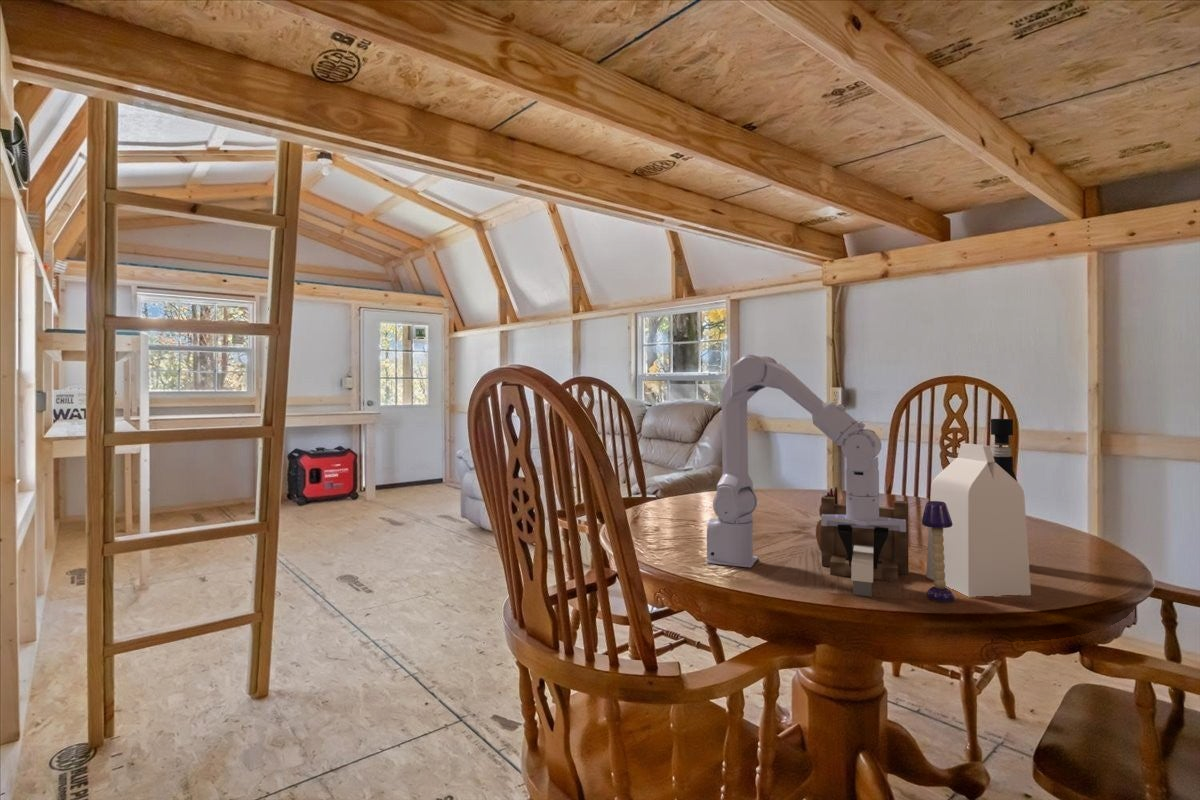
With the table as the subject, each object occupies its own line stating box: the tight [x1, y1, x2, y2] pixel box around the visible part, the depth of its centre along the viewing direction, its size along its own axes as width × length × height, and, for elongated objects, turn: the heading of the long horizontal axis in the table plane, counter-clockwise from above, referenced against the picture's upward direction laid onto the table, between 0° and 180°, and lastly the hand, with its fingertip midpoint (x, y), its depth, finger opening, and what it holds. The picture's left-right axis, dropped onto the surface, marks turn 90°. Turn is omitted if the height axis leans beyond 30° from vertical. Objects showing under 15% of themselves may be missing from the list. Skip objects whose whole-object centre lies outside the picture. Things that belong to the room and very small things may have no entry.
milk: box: [925, 442, 1032, 598], centre depth 112 cm, size 12×12×26 cm
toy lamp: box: [921, 501, 955, 603], centre depth 105 cm, size 5×5×17 cm
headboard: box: [820, 496, 909, 582], centre depth 120 cm, size 16×8×14 cm, turn 65°
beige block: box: [850, 544, 874, 598], centre depth 113 cm, size 5×15×6 cm, turn 155°
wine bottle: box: [990, 418, 1018, 482], centre depth 125 cm, size 6×6×30 cm
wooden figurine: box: [815, 486, 840, 553], centre depth 135 cm, size 7×6×15 cm
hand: (863, 566), depth 114 cm, fingers closed on beige block, 3 cm apart
